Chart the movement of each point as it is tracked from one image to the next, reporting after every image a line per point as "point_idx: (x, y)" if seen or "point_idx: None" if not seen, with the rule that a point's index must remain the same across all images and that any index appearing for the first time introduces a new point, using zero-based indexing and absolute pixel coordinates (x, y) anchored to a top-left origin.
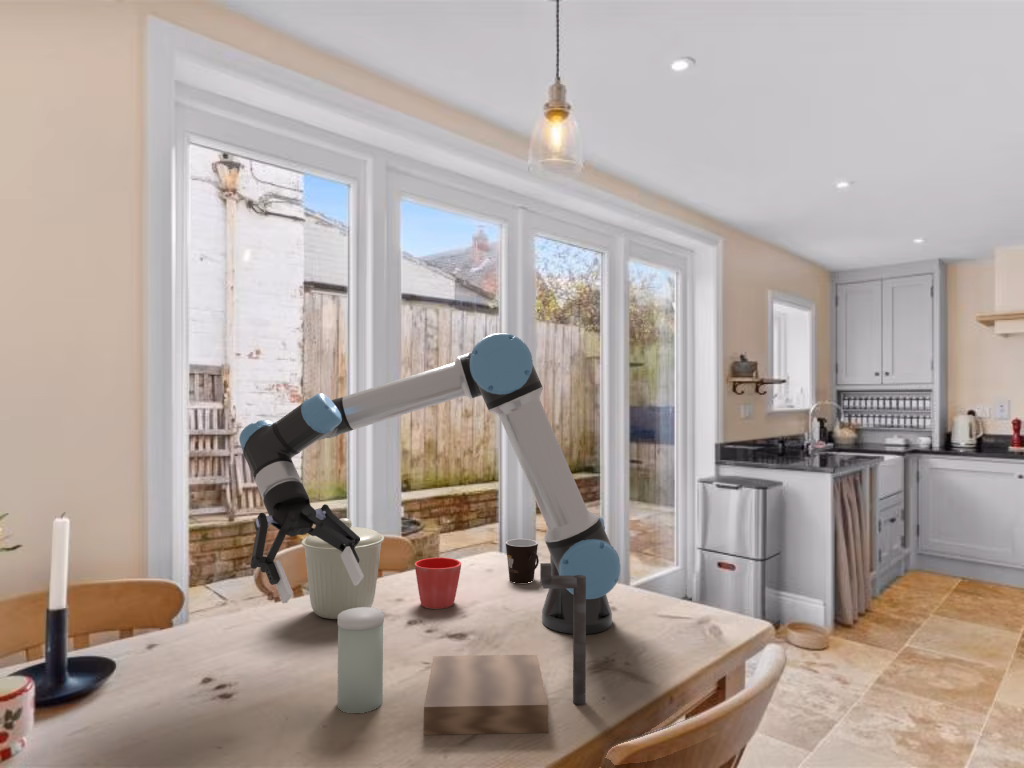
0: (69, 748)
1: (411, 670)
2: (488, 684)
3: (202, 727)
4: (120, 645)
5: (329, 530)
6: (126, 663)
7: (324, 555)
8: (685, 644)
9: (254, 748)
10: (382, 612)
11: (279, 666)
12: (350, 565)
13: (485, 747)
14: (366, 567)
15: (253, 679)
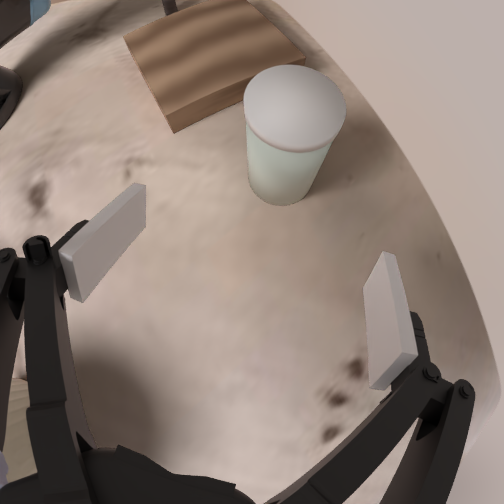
0: (487, 389)
1: (158, 176)
2: (219, 32)
3: (423, 314)
4: None
5: (42, 354)
6: None
7: (11, 471)
8: (41, 22)
9: (422, 218)
10: (261, 74)
11: (241, 381)
12: (114, 236)
13: (287, 32)
14: None
15: (298, 379)
